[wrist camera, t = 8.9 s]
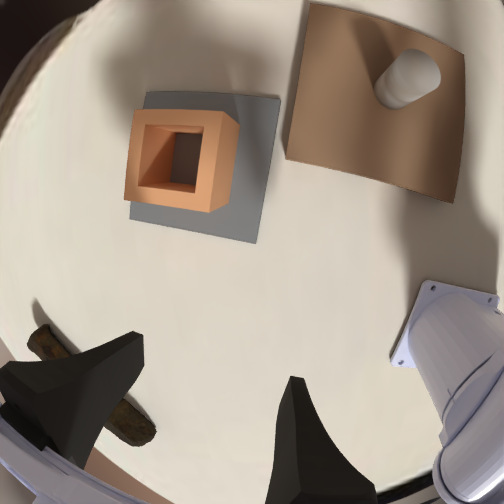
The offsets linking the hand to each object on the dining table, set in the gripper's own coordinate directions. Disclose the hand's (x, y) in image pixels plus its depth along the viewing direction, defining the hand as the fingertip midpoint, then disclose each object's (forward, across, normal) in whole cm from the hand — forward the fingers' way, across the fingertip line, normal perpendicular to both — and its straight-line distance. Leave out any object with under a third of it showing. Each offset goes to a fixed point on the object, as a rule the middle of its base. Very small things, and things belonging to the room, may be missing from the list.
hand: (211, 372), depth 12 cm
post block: (+9, -7, -16) cm, 20 cm away
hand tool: (+10, +16, +17) cm, 25 cm away
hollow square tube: (+9, +5, -9) cm, 14 cm away
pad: (+9, +5, -9) cm, 14 cm away
